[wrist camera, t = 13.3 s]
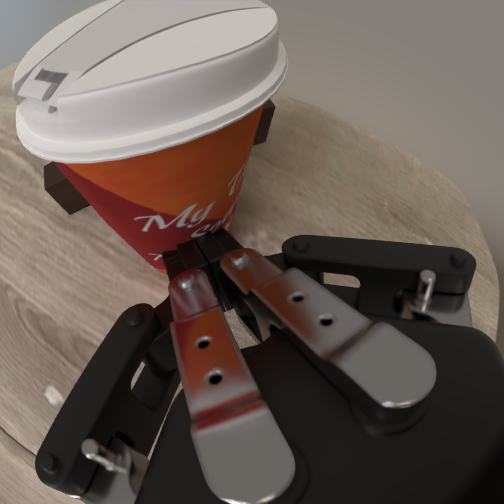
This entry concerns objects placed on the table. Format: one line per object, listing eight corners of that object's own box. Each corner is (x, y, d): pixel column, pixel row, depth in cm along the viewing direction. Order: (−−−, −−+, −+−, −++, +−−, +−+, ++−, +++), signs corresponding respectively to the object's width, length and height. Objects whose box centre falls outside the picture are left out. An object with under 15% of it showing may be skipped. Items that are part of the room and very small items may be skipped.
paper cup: (204, 317, 16) (147, 183, 3) (105, 255, 16) (-33, 96, 3) (263, 213, 18) (335, 11, 5) (169, 167, 19) (143, -20, 6)
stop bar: (254, 124, 21) (262, 89, 17) (265, 141, 20) (276, 106, 17) (66, 193, 17) (43, 166, 13) (69, 215, 17) (44, 189, 13)
